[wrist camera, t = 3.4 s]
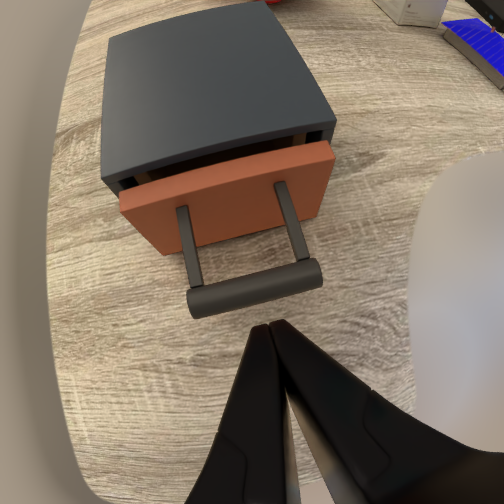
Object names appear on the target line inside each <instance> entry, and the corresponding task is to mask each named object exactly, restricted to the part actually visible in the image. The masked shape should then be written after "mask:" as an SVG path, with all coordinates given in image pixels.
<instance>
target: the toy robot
mask: <svg viewBox="0 0 504 504" xmlns="http://www.w3.org/2000/svg"><path fill="white" fill-rule="evenodd" d="M257 1H263V0H257ZM264 1H265V2H266V3H277V2H280V1H281V0H264Z"/></svg>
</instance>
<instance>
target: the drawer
mask: <svg viewBox="0 0 504 504" xmlns="http://www.w3.org/2000/svg"><path fill="white" fill-rule="evenodd" d="M306 134H307V133H302V134H297V135H291V136H286V137H281V138H276V139H271V140H267V141H262V142H257V143H253V144H248V145H244V146H240V147H235V148H231V149H227V150H223V151H219V152H215V153H211V154H207V155H203V156H199V157H196V158H192V159H188V160H185V161H181V162H178V163H174V164H171V165H167V166H164V167H160V168H157V169H154V170H150V171H147V172H144V173H141V174H138V175H134V178H135V179H136V181H137V182H138V183H139V185H140V186H136V187H133V188H130V189H127V190H124V191H121V192H119V203H120V213H121V214H122V215H123V216H124V217H125V218H126V219H127V220H128V221H129V222H130V223H131V224H132V225H133V226H134V227H135V228H136V229H137V230H138V231H139V232H140V233H141V234H142V235H143V236H144V237H145V238H146V239H147V240H148V241H149V242H150V243H151V244H152V245H153V246H154V247H155V248H156V249H157V250H158V251H159V252H160V253H161V254H162V255H163V256H164V255H168V254H172V253H176V252H179V251H183V254H184V259H185V264H186V269H187V274H188V279H189V284H190V288H191V289H188V290H187V292H186V298H187V304H188V308H189V311H190V313H191V316H192V317H193V319H200V318H204V317H208V316H213V315H217V314H221V313H225V312H229V311H233V310H237V309H241V308H245V307H249V306H253V305H257V304H261V303H265V302H268V301H272V300H276V299H280V298H284V297H287V296H291V295H295V294H298V293H302V292H306V291H309V290H313V289H316V288H320V287H322V285H323V277H322V272H321V269H320V266H319V263H318V261H317V260H316V259H315V258H310V254H309V251H308V248H307V245H306V242H305V239H304V235H303V232H302V229H301V226H300V223H299V221H302V220H306V219H310V218H314V217H316V216H317V213H318V210H319V207H320V205H321V202H322V199H323V196H324V193H325V190H326V187H327V184H328V181H329V178H330V175H331V172H332V169H333V165H334V162H335V159H336V158H335V156H334V153H333V151H332V149H331V147H330V145H329V142H328V141H327V140H325V141H319V142H314V143H309V144H305V140H306ZM281 225H285V226H286V229H287V232H288V235H289V239H290V242H291V245H292V248H293V252H294V255H295V258H296V262H294V263H291V264H287V265H283V266H279V267H275V268H271V269H268V270H264V271H260V272H256V273H252V274H248V275H244V276H240V277H236V278H232V279H228V280H225V281H221V282H217V283H213V284H209V285H204V280H203V276H202V271H201V266H200V261H199V257H198V252H197V247H199V246H202V245H206V244H210V243H214V242H218V241H222V240H226V239H230V238H234V237H237V236H241V235H245V234H249V233H253V232H257V231H261V230H265V229H269V228H273V227H277V226H281ZM309 258H310V259H309Z"/></svg>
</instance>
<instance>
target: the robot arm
mask: <svg viewBox="0 0 504 504" xmlns="http://www.w3.org/2000/svg"><path fill="white" fill-rule="evenodd" d="M287 397H288V399H287ZM288 400H289V403H290V405H291V408H292V410H293V412H294V415H295V417H296V419H297V421H298V424H299V426H300V428H301V430H302V433H303V435H304V437H305V439H306V442H307V444H308V446H309V448H310V450H311V453H312V455H313V457H314V459H315V462H316V464H317V466H318V468H319V470H320V473H321V475H322V477H323V479H324V481H325V483H326V486H327V488H328V490H329V492H330V494H331V496H332V498H333V500H334V503H335V504H504V453H502V452H486V451H481V450H477V449H474V448H471V447H468V446H466V445H464V444H462V443H460V442H458V441H456V440H454V439H452V438H450V437H448V436H446V435H445V434H443V433H441V432H439V431H437V430H435V429H433V428H432V427H430V426H428V425H426V424H424V423H422V422H420V421H419V420H417V419H415V418H414V417H412V416H410V415H409V414H407V413H405V412H404V411H402V410H400V409H399V408H398V407H396V406H395V405H393V404H392V403H390V402H389V401H388V400H386V399H385V398H384V397H382V396H381V395H380V394H378V393H377V392H376V391H375V390H371V388H370V387H369V386H368V385H366V384H365V383H364V382H363V381H361V380H360V379H359V378H357V377H356V376H355V375H354V374H352V373H351V372H350V371H349V370H347V369H346V368H345V367H343V366H342V365H341V364H340V363H338V362H337V361H336V360H335V359H333V358H332V357H331V356H330V355H328V354H327V353H326V352H324V351H323V350H322V349H321V348H319V347H318V346H317V345H316V344H314V343H313V342H312V341H311V340H309V339H308V338H307V337H306V336H304V335H303V334H302V333H301V332H300V331H298V330H297V329H296V328H295V327H293V326H292V325H291V324H290V323H288V322H287V321H286V320H284V319H280V320H277V321H273V322H270V323H269V326H268V324H261V325H257V326H254V327H252V329H251V331H250V334H249V337H248V340H247V344H246V347H245V350H244V353H243V356H242V359H241V362H240V365H239V368H238V371H237V374H236V377H235V380H234V383H233V386H232V389H231V392H230V395H229V398H228V401H227V404H226V407H225V409H224V412H223V415H222V418H221V421H220V424H219V427H218V432H217V433H216V435H215V438H214V441H213V444H212V447H211V449H210V452H209V454H208V457H207V459H206V462H205V464H204V467H203V469H202V471H201V473H200V475H199V477H198V479H197V481H196V483H195V485H194V487H193V489H192V490H191V492H190V494H189V496H188V498H187V500H186V501H185V503H184V504H301V498H300V490H299V481H298V473H297V465H296V457H295V449H294V441H293V433H292V425H291V417H290V410H289V404H288Z"/></svg>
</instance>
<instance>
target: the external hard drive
mask: <svg viewBox="0 0 504 504" xmlns="http://www.w3.org/2000/svg"><path fill="white" fill-rule="evenodd" d="M465 1H466V2H467V3H468V4H470V5H471V6H472V7H473V8H474V9H475V10H476V11H477V12H478V13H479V14H480V15H481V16H482V17H483V18H484V19H485V20H486V21H487V22H488V23H489V24H490V25H491V26H492V27H493V26H494V27H495V28H496V29H495V30H496V31H499V32H503V33H504V0H465Z"/></svg>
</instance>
